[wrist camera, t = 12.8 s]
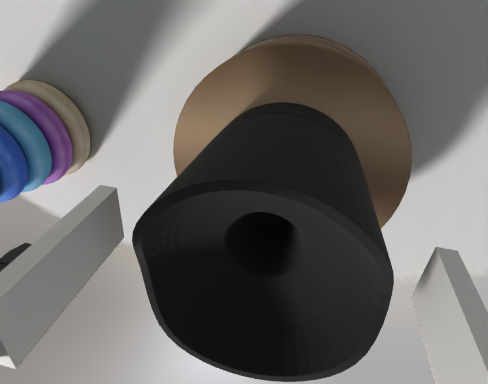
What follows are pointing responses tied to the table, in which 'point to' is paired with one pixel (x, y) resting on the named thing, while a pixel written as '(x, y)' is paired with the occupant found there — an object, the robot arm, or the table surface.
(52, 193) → the table surface
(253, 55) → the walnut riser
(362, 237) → the pen holder
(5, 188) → the stacking toy
